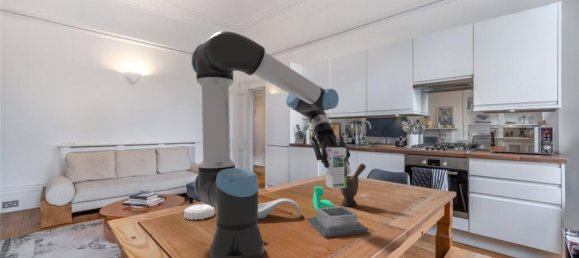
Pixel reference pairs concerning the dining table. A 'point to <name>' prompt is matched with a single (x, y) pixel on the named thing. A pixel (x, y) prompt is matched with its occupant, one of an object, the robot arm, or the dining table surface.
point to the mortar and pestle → (351, 188)
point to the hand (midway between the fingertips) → (340, 173)
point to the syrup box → (337, 167)
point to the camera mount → (316, 199)
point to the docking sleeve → (336, 222)
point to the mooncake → (199, 211)
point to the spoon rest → (269, 206)
